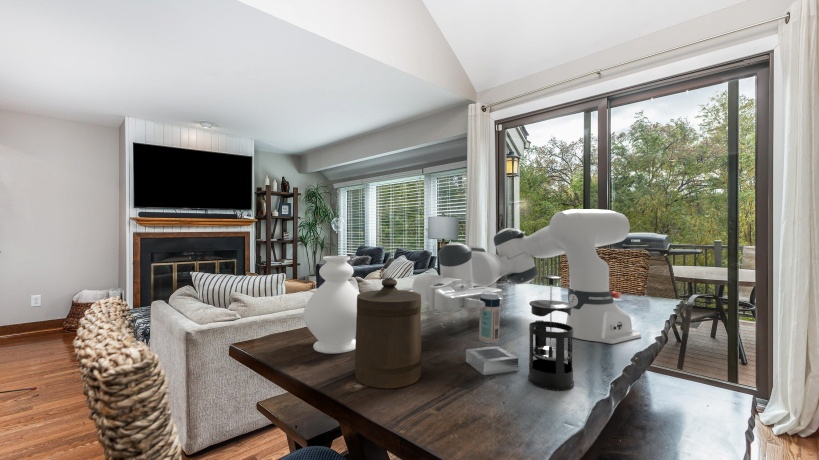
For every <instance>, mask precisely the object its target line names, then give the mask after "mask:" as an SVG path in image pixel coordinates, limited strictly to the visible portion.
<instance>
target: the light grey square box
mask: <svg viewBox="0 0 819 460" xmlns="http://www.w3.org/2000/svg"><path fill="white" fill-rule="evenodd" d="M465 363H467V364H468V365H470V366H471V367H472V368H474V369H475V370H476V371H478V372H479V374H481V375H483V376H488V375H496V374H503V373H513V372H519V358H518V356H516V355H514V354H513V353H510V352H509V351H507V350H505V349H504V348H503V347H500V346H498V345H496V346H486V347H477V348H475V347H474V348H468V349H467V348H466V349H465Z"/></svg>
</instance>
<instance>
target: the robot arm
mask: <svg viewBox="0 0 819 460" xmlns="http://www.w3.org/2000/svg"><path fill="white" fill-rule="evenodd" d="M630 229H631V226H630V221H629V219H628V217H627V216H626V215H625V214H623V213H622V212H618V211H614V210H609V209H590V208H589V209H587V208H586V209H582V208H581V209H579V208H578V209H577V208H571V209H566V210H561V211H558V212H555V213H554V214H553V216H552V217H551V219H550V221H549V224H548V225H547V226H545V227H542V228H540V229H538V230H537V231H535V232H533V233H531V235H528V236H526V235H525V234H526V233H527V232H526V231H525V230H524V231H522V230H520V229H518V228H514V227H508V228H507V227H506V228H504V229H501V230H499V231H498V232H497V233H496V234H495V235H494V237H493V244H494V247H495V248H496V251H497V254H496V253H491V252H490V253H488V252H487V251H486V250H485V248H484V247H480V246H476V245H468V244H464V243H460V242H449V243H447V244H446V243H445V244H444V245H442V247H441V248H440V249H439V251H438V253H437V255H438V261H439V262H438V263H439V271H440V275H436V274H421V275H418V276H416V277H415V278H414V280H413V281H412V282H413V283H412V292H416V293H418V294H420V295H421V303H423V304H426V305H428V306H429V310H430V311H432V312H439V311H440V312H446V313H447V312H448V313H451V312H453V313H459V312H461V311H462V310H468V309H473V308H474V309H479V310H480V309H482V308H485V307H486V305H485V304H486V302H485V301H483V300H480V296H481V294H482V292H486V291H490V292H497V293H499V296H500V306H503V304H504V291H503V289H501V288H496V287H488V286H490V285H493V284H494V283H495V282H497V281H498V280H499V279H500V278H501V277H503V276H505V278H504V279H505V281H508V282H511V283H512V284H516V285H525V284H528V283H531V282H532V281H534V279H536V278H537V276H538V274H539V273H538V267H537V265H535V264H536V263H535V262H534V258H537V259H548V258H554V257H557V256H561V255H565V256H566V259H567V263H568V273H569V287H568V288H567V289H568V290H567V300H568V302H567V303H570V304H572V305H573V306H574V307H573V309H571V316H569V315H568V314H567V313H566V314H567V316H566V320H565V324H567V325H569V326H571V327H573V336H572V338H573V339H574V338H575V339H578V340H582V341H590V342H591V341H592V342H598V343H599V342H600V343H604V344H605V343H606V344H610V345H611V344H612V345H613V344H618V343H622V342H626V341H631V340H634V339H639V338H641V337H642V334H641V332H638V331H637V330H635V329H633V324H632V322H633V321H632V319H631V316H630V315H629V314H628V313H627V312H626V311H624V310H623V309H622V308H621V307H620V306H618V305H617V304H616V303H614V298H615V299H618V300H619V299H620V298H621V296H622V295H621V294H620V292H619V291H614V290H613V291H611V290H610V266H609V264H608V263H607V261H605V260H604V259H602V258H601V257H600V256H599V255H598V252H597V249H596V248H598V247H603V246H608V245H613V244H616V243H620V242H623V241H625V240H626V238H627V237H628V235H629V233H630ZM533 257H534V258H533ZM474 285H476V287H474ZM563 332H568V331H566V330H563Z"/></svg>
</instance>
